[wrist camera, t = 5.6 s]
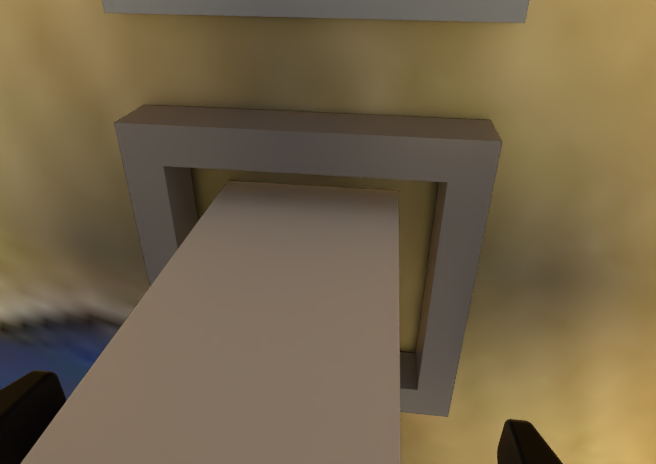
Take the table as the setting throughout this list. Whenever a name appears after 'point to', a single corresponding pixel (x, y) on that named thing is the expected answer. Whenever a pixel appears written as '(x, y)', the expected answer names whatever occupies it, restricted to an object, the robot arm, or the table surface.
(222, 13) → the slate pad
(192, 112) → the collar
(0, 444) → the robot arm
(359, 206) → the beige block
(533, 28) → the table surface
